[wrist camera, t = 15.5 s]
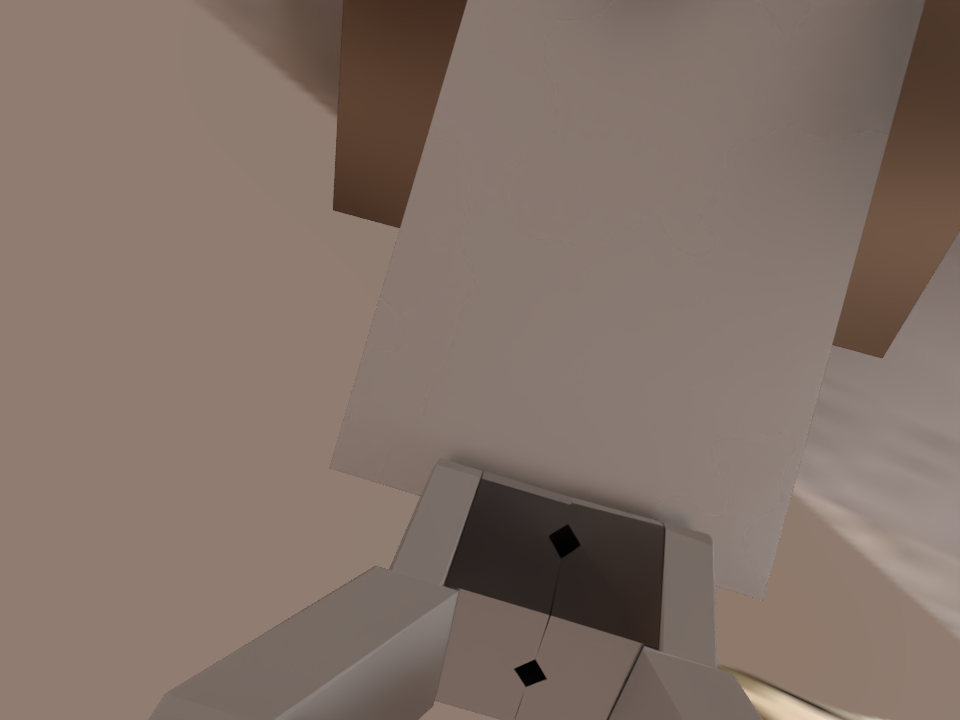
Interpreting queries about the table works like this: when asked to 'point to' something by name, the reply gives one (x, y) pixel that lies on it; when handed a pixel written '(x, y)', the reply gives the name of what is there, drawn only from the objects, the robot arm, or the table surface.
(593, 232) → the latch bar
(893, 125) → the walnut holder
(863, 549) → the table surface
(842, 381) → the table surface
